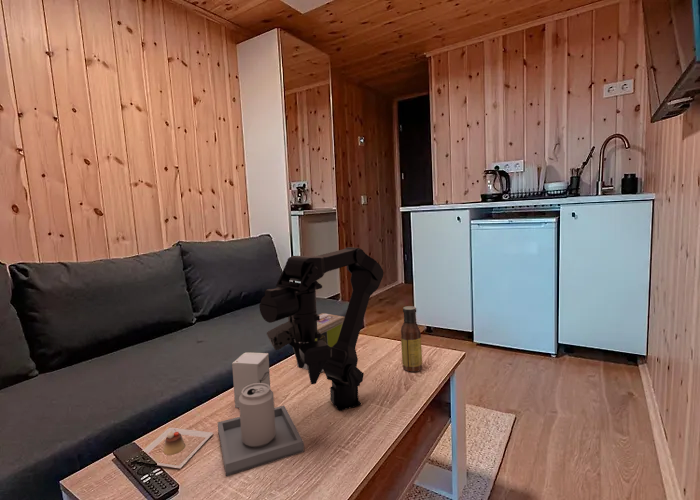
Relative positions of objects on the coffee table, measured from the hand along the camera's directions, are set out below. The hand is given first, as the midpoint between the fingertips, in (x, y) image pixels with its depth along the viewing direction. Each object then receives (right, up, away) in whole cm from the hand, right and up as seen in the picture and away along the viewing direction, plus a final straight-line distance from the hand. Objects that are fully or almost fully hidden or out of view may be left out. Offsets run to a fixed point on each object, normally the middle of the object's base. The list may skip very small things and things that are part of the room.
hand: (307, 375), depth 87 cm
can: (-10, -13, -3) cm, 17 cm away
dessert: (-29, -15, -5) cm, 33 cm away
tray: (-10, -14, -3) cm, 18 cm away
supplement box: (-16, -12, +14) cm, 24 cm away
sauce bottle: (+30, -8, +31) cm, 44 cm away
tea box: (+1, -9, +38) cm, 39 cm away
